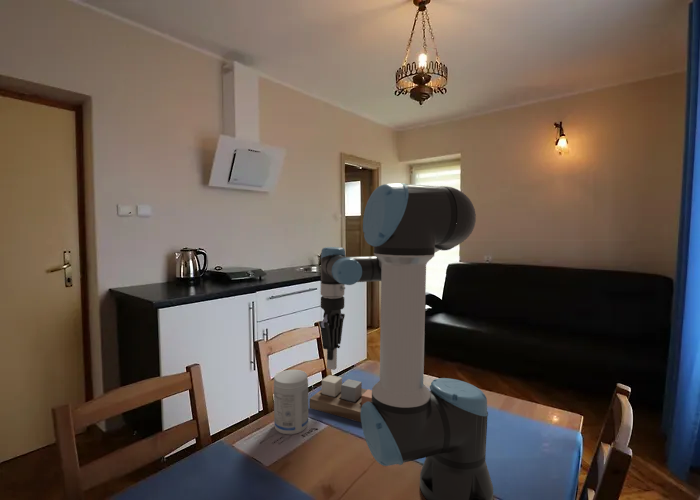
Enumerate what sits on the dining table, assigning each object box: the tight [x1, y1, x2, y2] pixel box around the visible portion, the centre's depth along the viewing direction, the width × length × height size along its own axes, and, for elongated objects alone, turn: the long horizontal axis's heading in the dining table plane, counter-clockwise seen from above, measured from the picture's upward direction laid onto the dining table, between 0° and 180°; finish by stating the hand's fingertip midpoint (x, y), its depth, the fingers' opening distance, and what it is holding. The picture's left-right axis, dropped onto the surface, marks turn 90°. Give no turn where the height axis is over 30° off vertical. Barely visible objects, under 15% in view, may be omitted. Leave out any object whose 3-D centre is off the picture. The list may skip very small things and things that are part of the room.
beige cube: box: [321, 374, 343, 398], centre depth 117 cm, size 5×5×4 cm
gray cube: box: [341, 378, 363, 403], centre depth 114 cm, size 5×5×4 cm
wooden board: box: [309, 388, 368, 423], centre depth 114 cm, size 14×22×3 cm, turn 64°
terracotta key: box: [361, 389, 372, 405], centre depth 111 cm, size 5×5×4 cm
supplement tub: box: [273, 369, 309, 435], centre depth 102 cm, size 10×10×15 cm
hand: (331, 368), depth 117 cm, fingers closed
